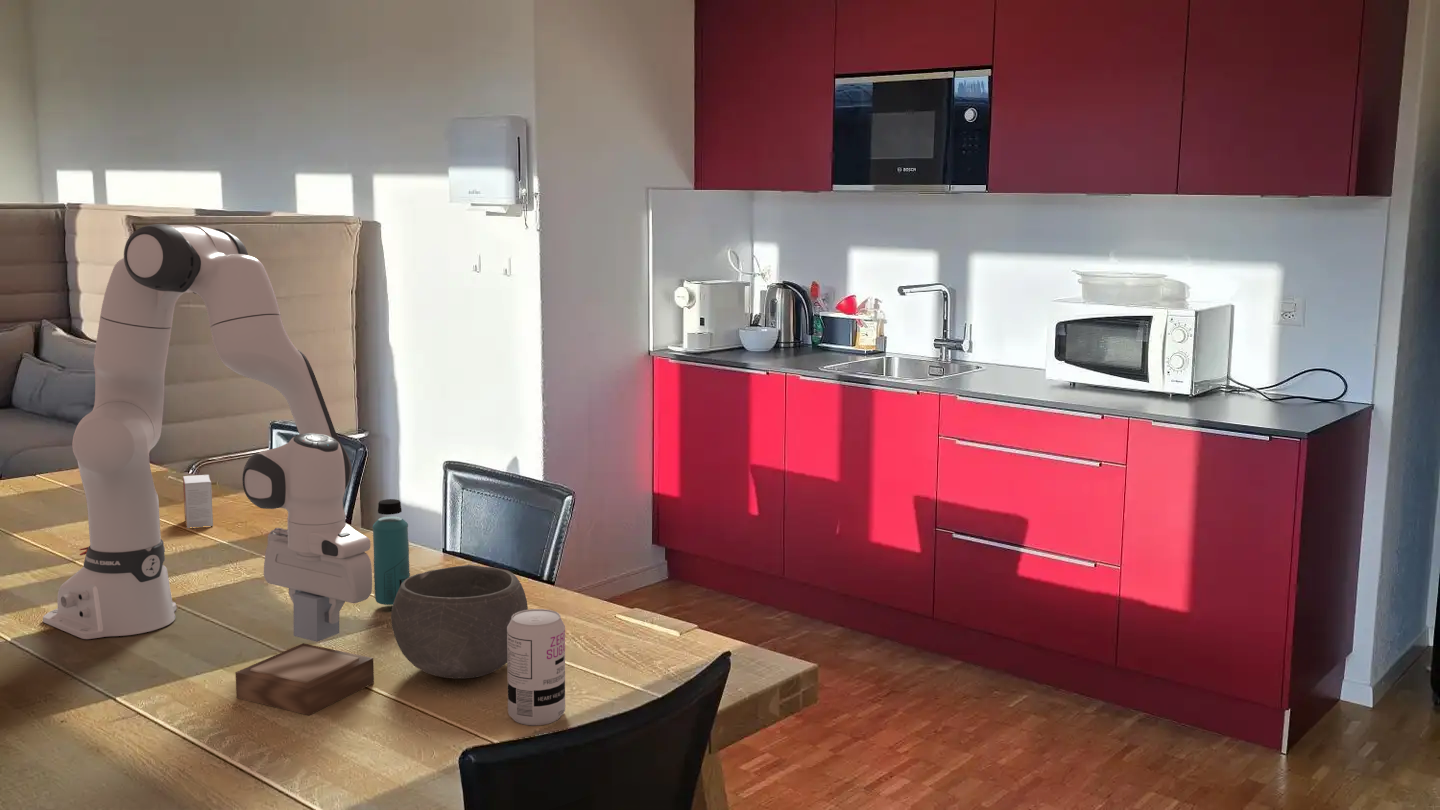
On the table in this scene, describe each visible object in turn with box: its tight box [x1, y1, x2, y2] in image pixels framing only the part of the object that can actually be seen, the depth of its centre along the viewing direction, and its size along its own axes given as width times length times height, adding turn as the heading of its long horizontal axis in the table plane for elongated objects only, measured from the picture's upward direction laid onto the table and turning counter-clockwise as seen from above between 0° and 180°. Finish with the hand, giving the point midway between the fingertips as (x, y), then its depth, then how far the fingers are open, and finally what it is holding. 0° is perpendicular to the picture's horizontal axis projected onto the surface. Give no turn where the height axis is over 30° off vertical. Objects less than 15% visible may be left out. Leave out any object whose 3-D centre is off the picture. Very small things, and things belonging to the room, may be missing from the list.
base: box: [235, 643, 375, 716], centre depth 192 cm, size 14×14×4 cm
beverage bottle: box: [372, 498, 411, 606], centre depth 230 cm, size 6×7×20 cm
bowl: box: [390, 564, 529, 679], centre depth 200 cm, size 21×21×15 cm
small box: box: [182, 474, 214, 529], centre depth 285 cm, size 8×6×10 cm
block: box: [292, 591, 340, 643], centre depth 205 cm, size 5×5×7 cm
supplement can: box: [506, 608, 566, 726], centre depth 183 cm, size 8×8×15 cm
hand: (316, 618), depth 206 cm, fingers closed on block, 5 cm apart
